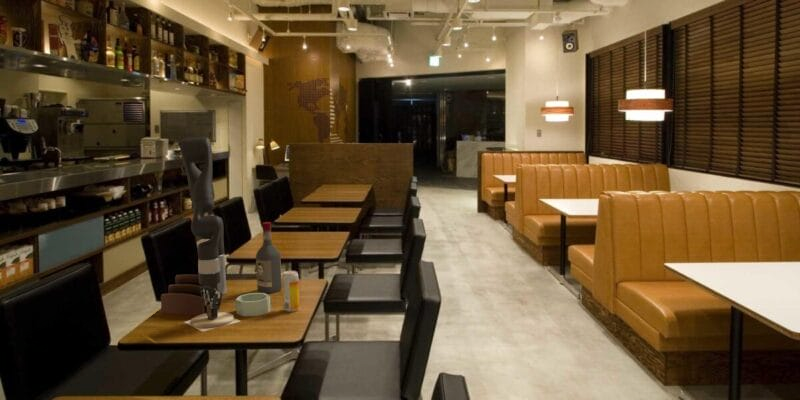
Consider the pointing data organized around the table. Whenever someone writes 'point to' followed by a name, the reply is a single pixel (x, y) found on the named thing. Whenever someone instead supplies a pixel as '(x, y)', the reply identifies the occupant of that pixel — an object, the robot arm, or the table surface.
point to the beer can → (291, 291)
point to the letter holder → (184, 296)
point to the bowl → (253, 304)
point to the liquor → (268, 264)
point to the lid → (211, 319)
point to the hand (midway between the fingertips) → (212, 316)
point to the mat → (211, 328)
